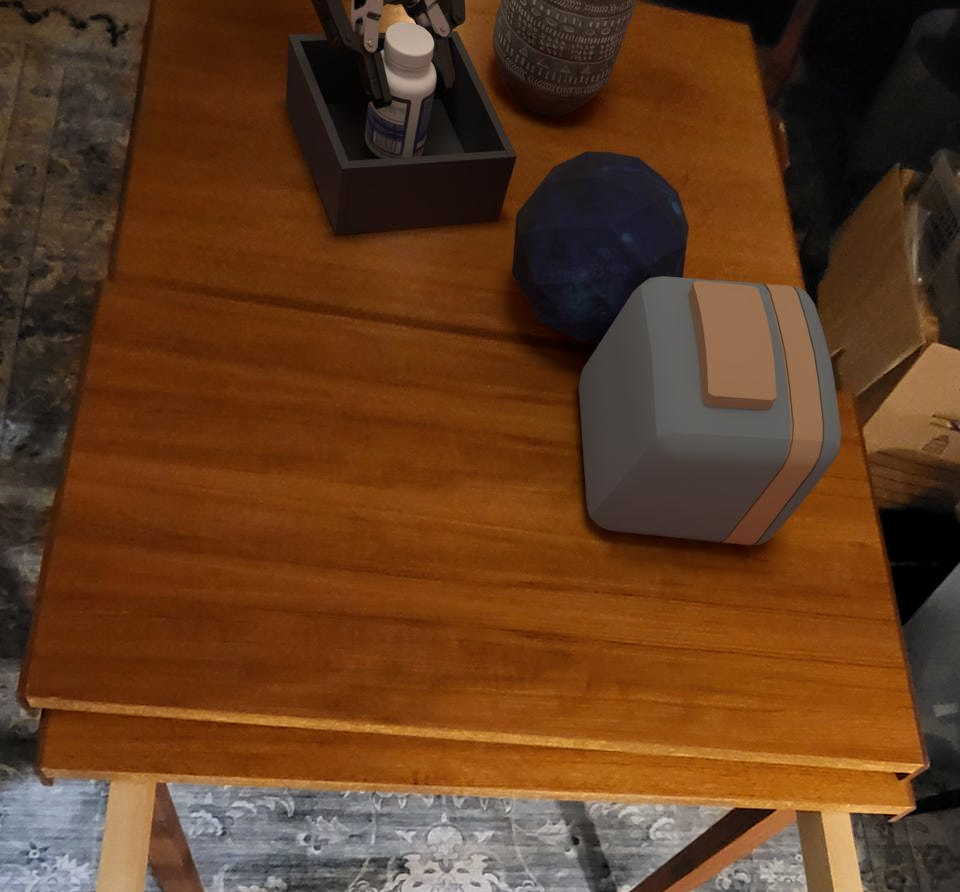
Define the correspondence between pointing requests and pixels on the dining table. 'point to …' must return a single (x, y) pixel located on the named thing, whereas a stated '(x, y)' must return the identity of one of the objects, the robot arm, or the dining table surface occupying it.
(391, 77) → the pill bottle
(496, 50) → the planter
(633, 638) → the dining table surface
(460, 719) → the dining table surface
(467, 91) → the bin
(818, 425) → the grey rounded cube box
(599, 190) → the decorative orb
